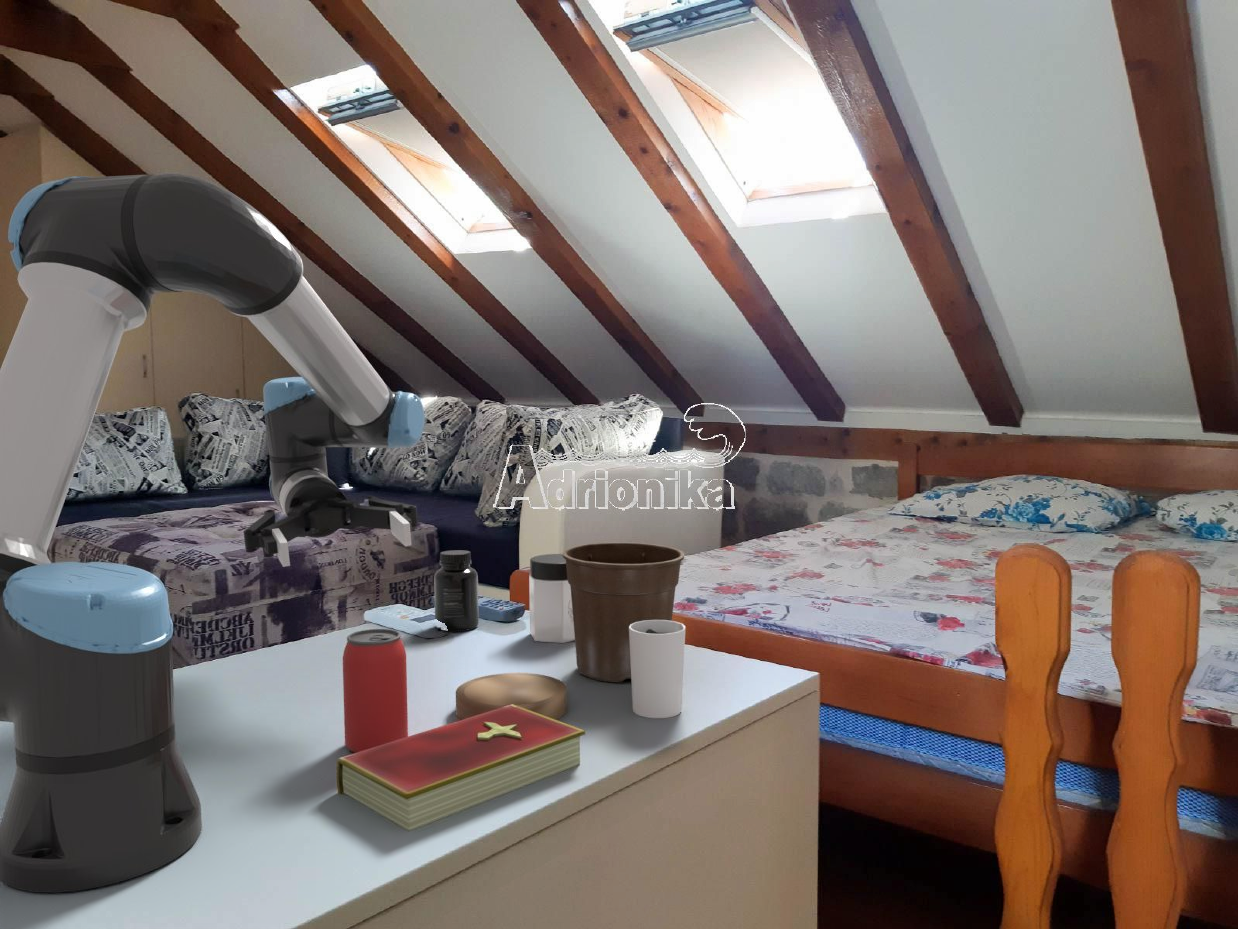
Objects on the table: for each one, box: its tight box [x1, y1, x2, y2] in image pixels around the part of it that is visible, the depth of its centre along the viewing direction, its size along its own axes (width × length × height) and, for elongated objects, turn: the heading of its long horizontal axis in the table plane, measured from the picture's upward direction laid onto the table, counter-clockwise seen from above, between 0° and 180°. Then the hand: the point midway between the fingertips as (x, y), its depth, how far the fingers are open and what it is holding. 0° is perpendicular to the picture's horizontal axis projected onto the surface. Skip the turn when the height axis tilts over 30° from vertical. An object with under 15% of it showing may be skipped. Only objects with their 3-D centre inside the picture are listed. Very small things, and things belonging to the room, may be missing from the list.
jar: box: [528, 553, 575, 644], centre depth 145 cm, size 9×8×12 cm
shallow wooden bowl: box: [455, 672, 568, 721], centre depth 113 cm, size 13×13×2 cm
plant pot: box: [561, 542, 685, 683], centre depth 128 cm, size 16×16×16 cm
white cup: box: [629, 620, 686, 719], centre depth 112 cm, size 7×7×10 cm
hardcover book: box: [336, 704, 586, 832], centre depth 94 cm, size 12×21×4 cm, turn 135°
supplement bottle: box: [433, 549, 480, 633], centre depth 151 cm, size 7×7×12 cm
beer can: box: [342, 628, 409, 753], centre depth 102 cm, size 7×7×12 cm
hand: (348, 544), depth 108 cm, fingers open, 13 cm apart
